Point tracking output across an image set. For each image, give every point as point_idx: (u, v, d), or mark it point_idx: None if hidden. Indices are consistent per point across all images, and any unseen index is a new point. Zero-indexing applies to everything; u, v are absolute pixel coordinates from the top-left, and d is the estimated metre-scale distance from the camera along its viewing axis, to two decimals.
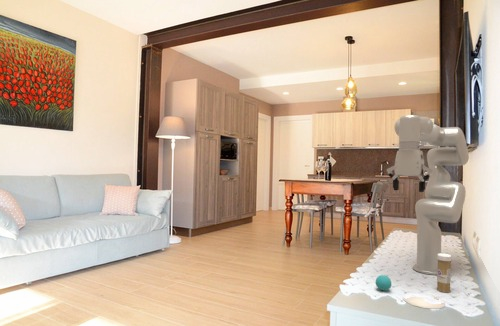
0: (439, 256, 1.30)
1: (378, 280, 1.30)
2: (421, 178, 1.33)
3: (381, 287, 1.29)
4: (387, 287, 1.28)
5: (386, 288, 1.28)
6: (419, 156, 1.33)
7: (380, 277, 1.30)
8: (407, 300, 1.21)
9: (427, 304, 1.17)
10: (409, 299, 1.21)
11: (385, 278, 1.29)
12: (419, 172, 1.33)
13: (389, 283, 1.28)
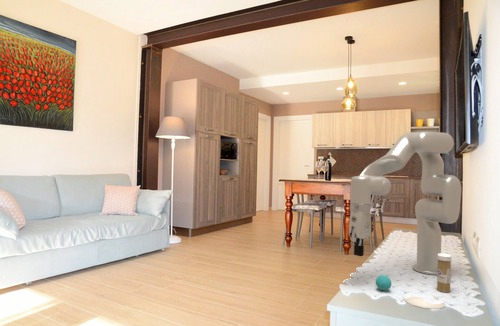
0: (439, 256, 1.30)
1: (378, 280, 1.30)
2: None
3: (381, 287, 1.29)
4: (387, 287, 1.28)
5: (386, 288, 1.28)
6: (350, 217, 1.35)
7: (380, 277, 1.30)
8: (407, 300, 1.21)
9: (427, 304, 1.17)
10: (409, 299, 1.21)
11: (385, 278, 1.29)
12: (349, 233, 1.35)
13: (389, 283, 1.28)
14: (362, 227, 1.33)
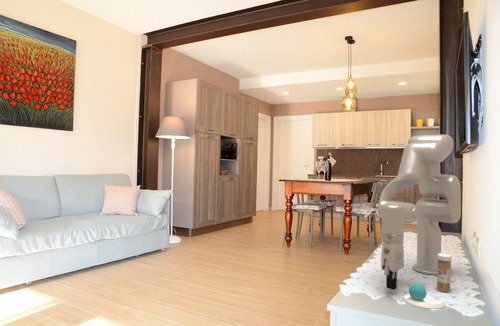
0: (439, 256, 1.30)
1: (414, 296, 1.21)
2: None
3: (417, 290, 1.20)
4: (415, 285, 1.21)
5: (416, 286, 1.21)
6: (382, 249, 1.26)
7: (411, 296, 1.22)
8: (407, 300, 1.21)
9: (427, 304, 1.17)
10: (409, 299, 1.21)
11: (409, 291, 1.23)
12: (381, 266, 1.26)
13: (411, 285, 1.23)
14: (395, 260, 1.24)
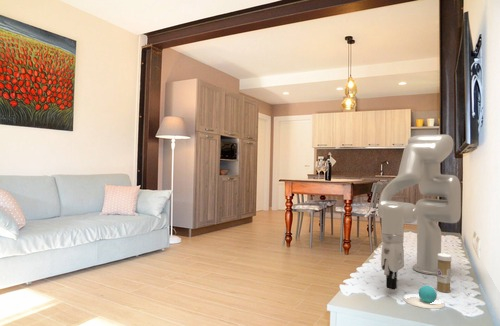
0: (439, 256, 1.30)
1: (421, 295, 1.19)
2: None
3: (429, 297, 1.17)
4: (432, 292, 1.18)
5: (433, 294, 1.17)
6: (382, 249, 1.26)
7: (419, 291, 1.20)
8: (407, 300, 1.21)
9: (427, 304, 1.17)
10: (409, 299, 1.21)
11: (423, 287, 1.20)
12: (381, 266, 1.26)
13: (430, 288, 1.19)
14: (395, 260, 1.24)
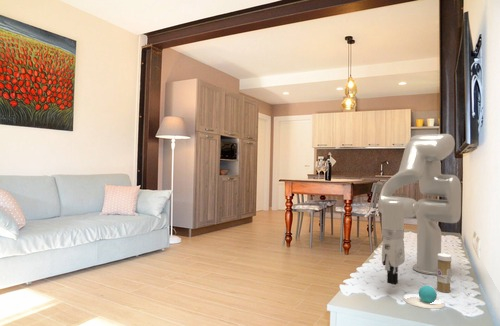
0: (439, 256, 1.30)
1: (421, 295, 1.19)
2: None
3: (429, 297, 1.17)
4: (432, 292, 1.18)
5: (433, 294, 1.17)
6: (383, 245, 1.27)
7: (419, 291, 1.20)
8: (407, 300, 1.21)
9: (427, 304, 1.17)
10: (409, 299, 1.21)
11: (423, 287, 1.20)
12: (382, 261, 1.27)
13: (430, 288, 1.19)
14: (396, 255, 1.24)
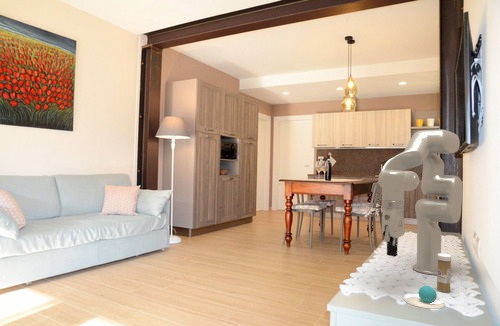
0: (439, 256, 1.30)
1: (421, 295, 1.19)
2: None
3: (429, 297, 1.17)
4: (432, 292, 1.18)
5: (433, 294, 1.17)
6: (383, 216, 1.26)
7: (419, 291, 1.20)
8: (407, 300, 1.21)
9: (427, 304, 1.17)
10: (409, 299, 1.21)
11: (423, 287, 1.20)
12: (382, 232, 1.26)
13: (430, 288, 1.19)
14: (396, 226, 1.24)
